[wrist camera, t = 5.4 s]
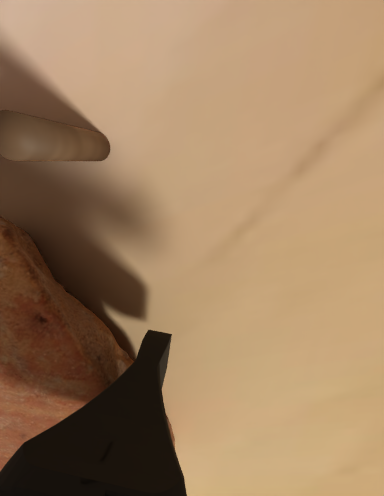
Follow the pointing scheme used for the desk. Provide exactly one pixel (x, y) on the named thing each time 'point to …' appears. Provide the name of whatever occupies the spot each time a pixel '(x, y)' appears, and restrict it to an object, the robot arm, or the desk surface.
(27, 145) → the wooden square frame
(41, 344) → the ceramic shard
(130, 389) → the robot arm
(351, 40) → the desk surface
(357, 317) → the desk surface
